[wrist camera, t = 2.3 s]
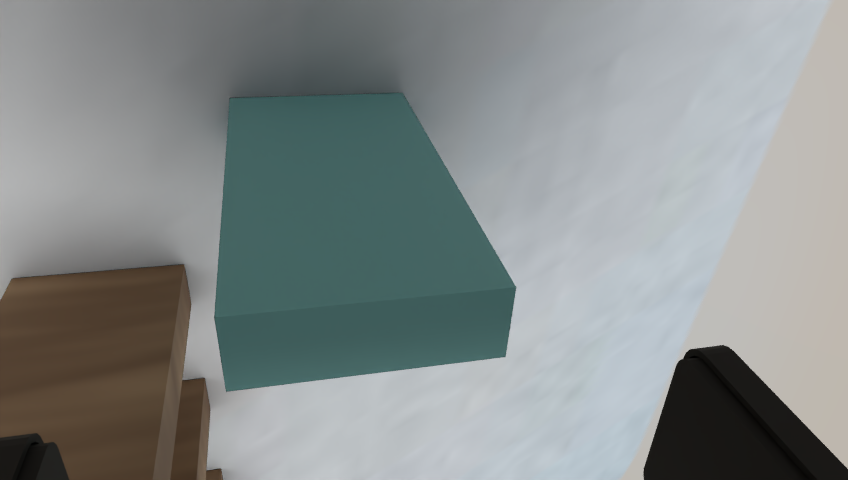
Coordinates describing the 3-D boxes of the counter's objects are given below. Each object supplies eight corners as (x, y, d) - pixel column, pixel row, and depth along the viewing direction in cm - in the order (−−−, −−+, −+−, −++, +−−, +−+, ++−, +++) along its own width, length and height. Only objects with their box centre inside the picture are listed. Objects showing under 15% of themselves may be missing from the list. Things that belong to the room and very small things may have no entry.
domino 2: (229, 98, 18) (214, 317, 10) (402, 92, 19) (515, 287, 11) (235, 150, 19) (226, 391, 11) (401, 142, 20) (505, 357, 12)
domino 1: (12, 278, 20) (-158, 601, 11) (184, 264, 21) (141, 550, 13) (26, 319, 21) (-122, 647, 12) (191, 303, 22) (156, 595, 13)
